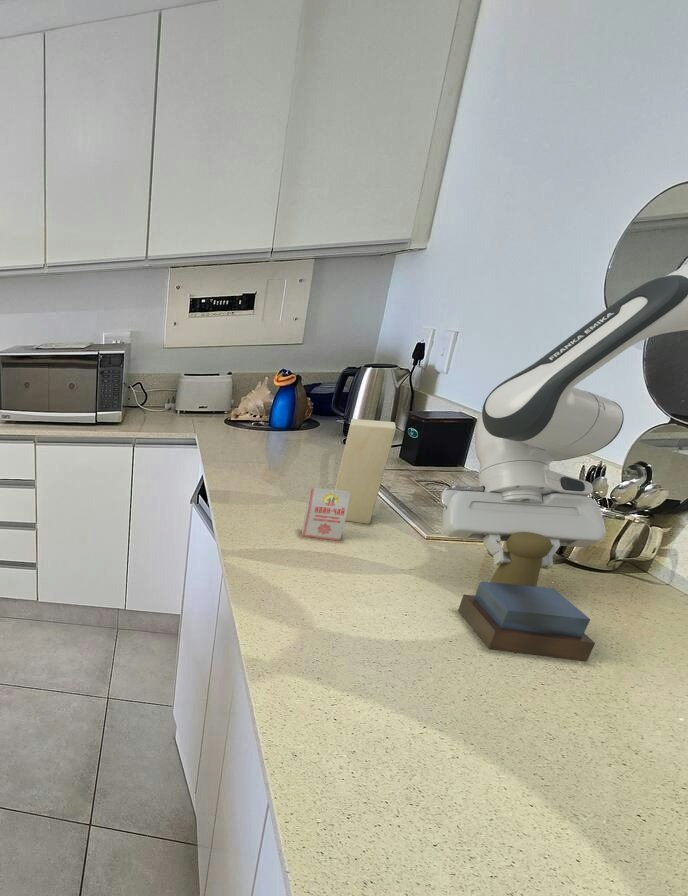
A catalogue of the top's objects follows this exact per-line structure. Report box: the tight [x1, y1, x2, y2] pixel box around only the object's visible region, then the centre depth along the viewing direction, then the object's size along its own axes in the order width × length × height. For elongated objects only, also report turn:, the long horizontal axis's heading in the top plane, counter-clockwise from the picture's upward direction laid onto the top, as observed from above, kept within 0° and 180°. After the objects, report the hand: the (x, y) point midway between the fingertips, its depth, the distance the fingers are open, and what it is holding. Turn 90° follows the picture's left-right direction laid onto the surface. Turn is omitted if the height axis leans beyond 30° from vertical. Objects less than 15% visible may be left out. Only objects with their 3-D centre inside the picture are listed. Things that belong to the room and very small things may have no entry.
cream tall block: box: [333, 418, 397, 525], centre depth 124 cm, size 8×7×21 cm
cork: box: [489, 532, 552, 587], centre depth 93 cm, size 6×6×11 cm
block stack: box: [457, 580, 596, 662], centre depth 84 cm, size 11×11×6 cm
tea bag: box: [301, 487, 350, 542], centre depth 118 cm, size 4×7×10 cm, turn 64°
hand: (523, 565), depth 92 cm, fingers closed on cork, 4 cm apart
